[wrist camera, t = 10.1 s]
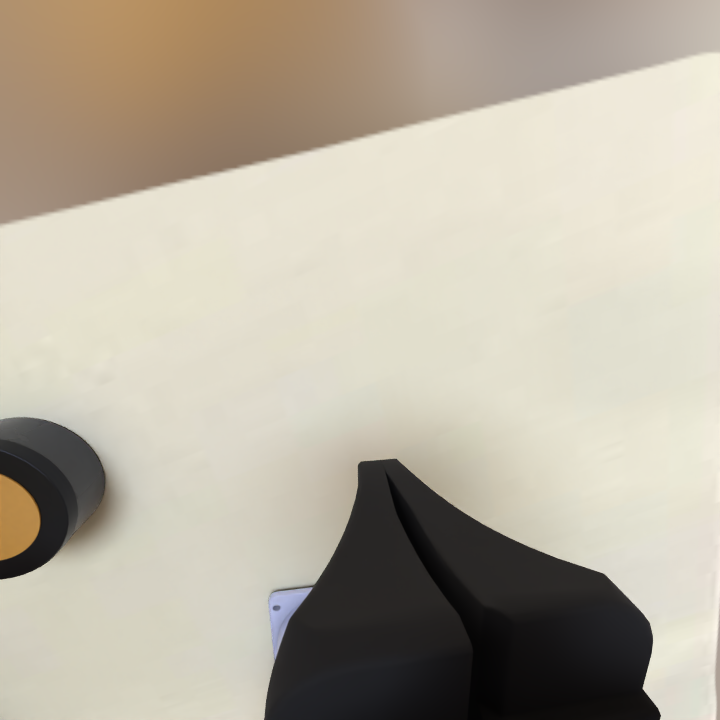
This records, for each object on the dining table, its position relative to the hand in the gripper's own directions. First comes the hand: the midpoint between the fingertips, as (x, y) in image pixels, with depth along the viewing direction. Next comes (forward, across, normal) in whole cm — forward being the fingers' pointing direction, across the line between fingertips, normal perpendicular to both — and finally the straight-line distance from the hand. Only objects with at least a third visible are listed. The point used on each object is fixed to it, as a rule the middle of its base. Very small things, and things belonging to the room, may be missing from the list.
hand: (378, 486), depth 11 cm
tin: (+9, +18, +4) cm, 21 cm away
